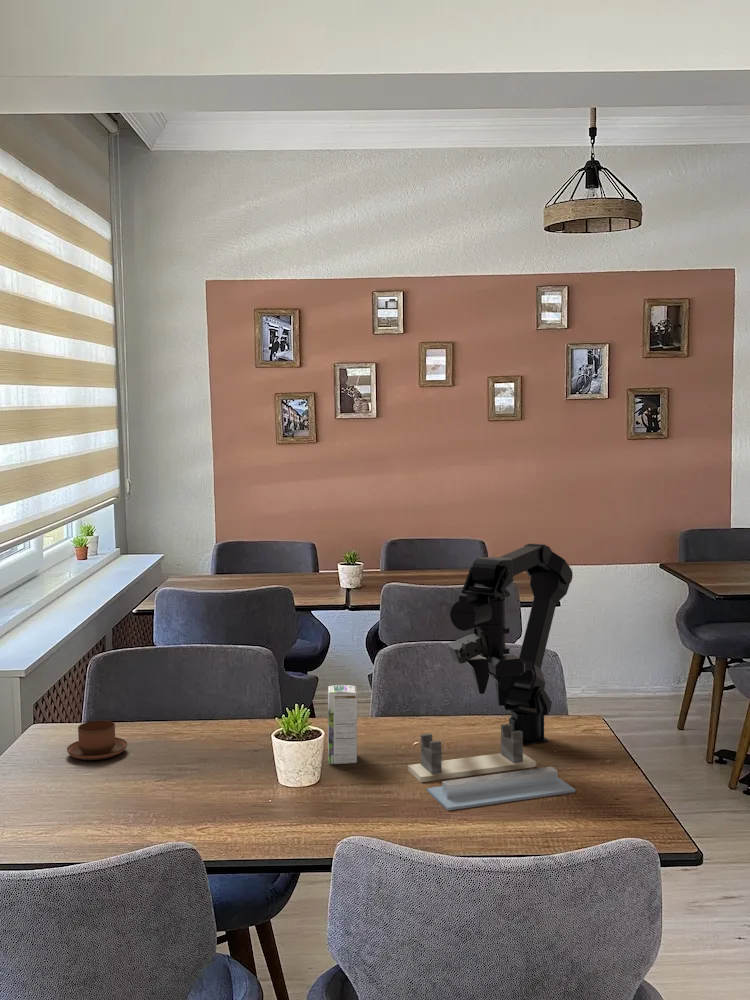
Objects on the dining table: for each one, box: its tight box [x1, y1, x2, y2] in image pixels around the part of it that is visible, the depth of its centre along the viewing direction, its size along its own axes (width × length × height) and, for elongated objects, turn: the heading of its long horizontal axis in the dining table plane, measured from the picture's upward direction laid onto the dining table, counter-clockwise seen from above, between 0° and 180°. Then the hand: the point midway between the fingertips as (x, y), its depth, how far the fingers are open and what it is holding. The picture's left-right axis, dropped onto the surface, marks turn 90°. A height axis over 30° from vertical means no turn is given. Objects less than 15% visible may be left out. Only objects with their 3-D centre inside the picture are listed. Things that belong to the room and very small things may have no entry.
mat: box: [426, 777, 576, 811], centre depth 186 cm, size 25×10×1 cm, turn 108°
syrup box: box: [327, 684, 358, 765], centre depth 204 cm, size 6×6×14 cm
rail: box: [441, 766, 559, 799], centre depth 186 cm, size 22×2×2 cm, turn 108°
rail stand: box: [407, 723, 537, 783], centre depth 198 cm, size 24×7×7 cm, turn 108°
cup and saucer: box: [66, 720, 128, 761], centre depth 210 cm, size 12×12×6 cm
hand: (491, 699), depth 203 cm, fingers open, 9 cm apart
